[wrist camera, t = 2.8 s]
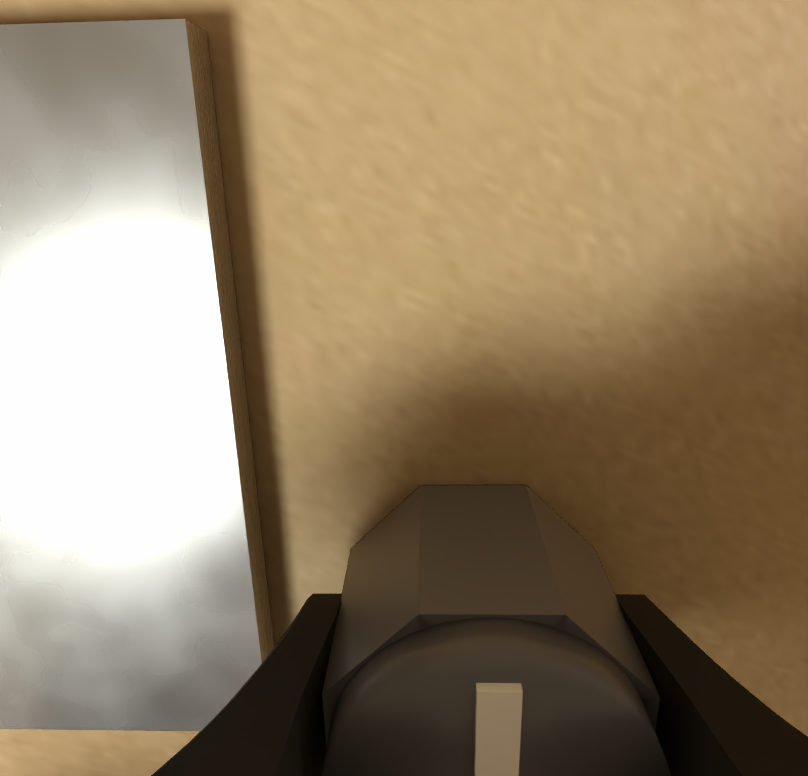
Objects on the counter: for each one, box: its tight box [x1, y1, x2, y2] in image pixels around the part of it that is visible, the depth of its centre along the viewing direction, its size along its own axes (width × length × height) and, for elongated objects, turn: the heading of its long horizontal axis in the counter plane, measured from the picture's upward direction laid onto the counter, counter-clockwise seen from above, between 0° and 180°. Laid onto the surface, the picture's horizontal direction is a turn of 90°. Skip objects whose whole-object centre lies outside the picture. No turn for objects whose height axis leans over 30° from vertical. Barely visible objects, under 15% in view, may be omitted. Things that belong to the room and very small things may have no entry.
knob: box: [322, 485, 671, 776], centre depth 12 cm, size 5×5×5 cm
